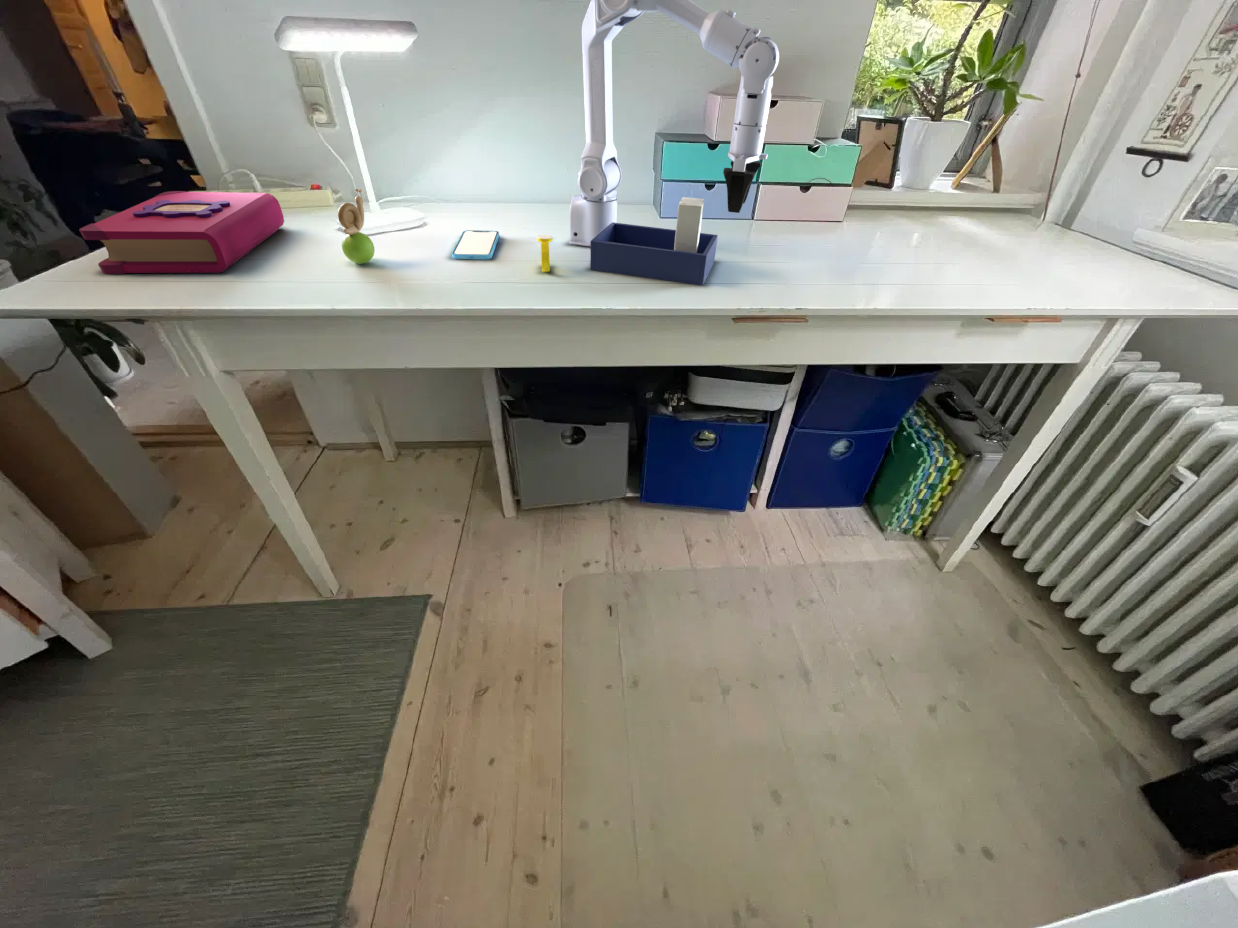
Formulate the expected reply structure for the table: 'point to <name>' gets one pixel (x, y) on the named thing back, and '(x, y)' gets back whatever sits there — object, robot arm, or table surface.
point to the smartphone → (476, 245)
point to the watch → (545, 251)
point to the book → (186, 232)
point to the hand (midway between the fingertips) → (736, 207)
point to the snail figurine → (355, 232)
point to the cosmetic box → (688, 224)
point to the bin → (651, 254)
